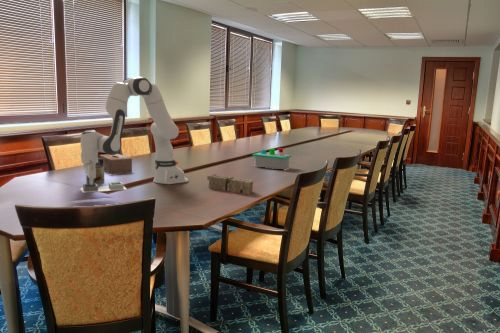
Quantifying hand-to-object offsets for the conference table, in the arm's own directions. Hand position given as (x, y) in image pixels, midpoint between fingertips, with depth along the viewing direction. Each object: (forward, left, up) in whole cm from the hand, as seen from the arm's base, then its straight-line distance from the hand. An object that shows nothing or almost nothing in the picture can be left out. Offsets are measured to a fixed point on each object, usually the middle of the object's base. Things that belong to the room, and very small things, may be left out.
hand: (90, 183), depth 234 cm
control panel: (-142, -37, -6) cm, 147 cm away
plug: (0, 0, -4) cm, 4 cm away
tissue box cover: (-25, -63, -6) cm, 68 cm away
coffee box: (-6, -20, -5) cm, 22 cm away
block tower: (-78, +22, -6) cm, 81 cm away
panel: (-7, 0, -5) cm, 9 cm away
